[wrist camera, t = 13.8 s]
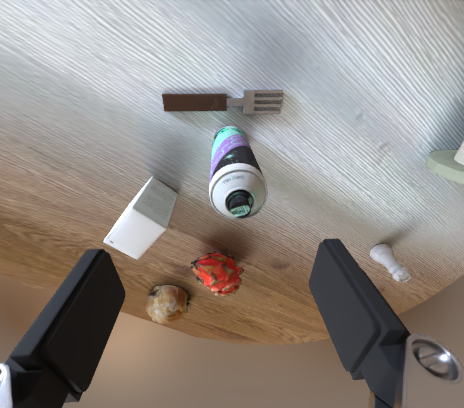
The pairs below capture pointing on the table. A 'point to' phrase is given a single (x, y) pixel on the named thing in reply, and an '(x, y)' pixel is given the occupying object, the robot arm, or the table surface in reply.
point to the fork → (220, 102)
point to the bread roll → (167, 304)
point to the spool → (448, 164)
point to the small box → (143, 219)
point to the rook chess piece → (389, 262)
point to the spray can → (235, 176)
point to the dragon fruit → (218, 273)
